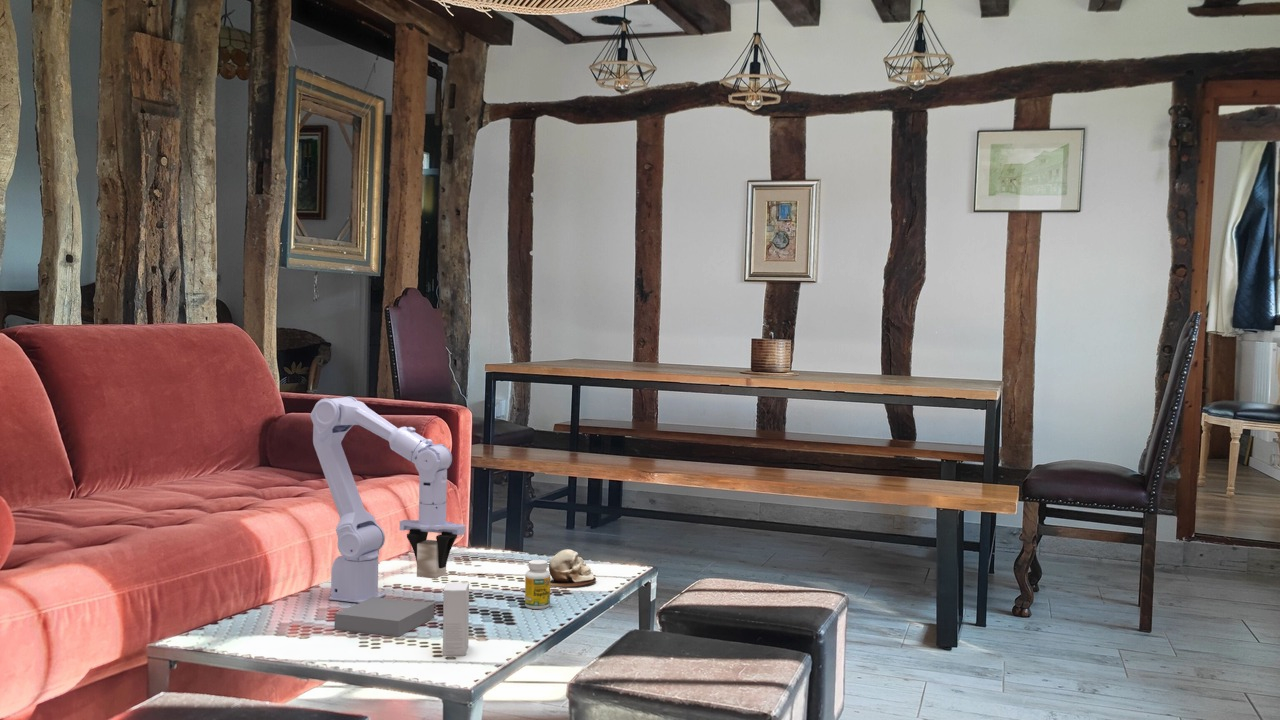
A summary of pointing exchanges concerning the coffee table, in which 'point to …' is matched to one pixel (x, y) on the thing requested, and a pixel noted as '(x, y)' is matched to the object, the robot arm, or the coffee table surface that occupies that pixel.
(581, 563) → the skull
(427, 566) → the cream block
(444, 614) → the skincare box
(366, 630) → the riser block
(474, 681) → the coffee table surface
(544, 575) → the supplement bottle
